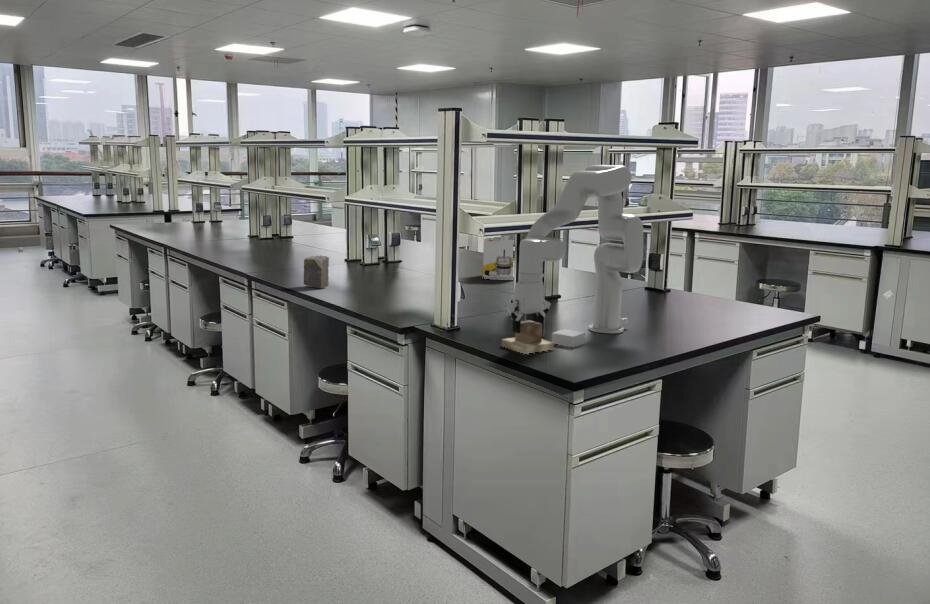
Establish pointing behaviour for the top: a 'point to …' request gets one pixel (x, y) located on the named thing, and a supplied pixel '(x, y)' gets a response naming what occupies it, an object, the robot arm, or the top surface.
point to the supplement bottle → (533, 319)
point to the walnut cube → (529, 332)
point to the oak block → (527, 346)
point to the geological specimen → (316, 271)
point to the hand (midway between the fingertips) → (528, 330)
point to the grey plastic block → (568, 338)
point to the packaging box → (498, 257)
